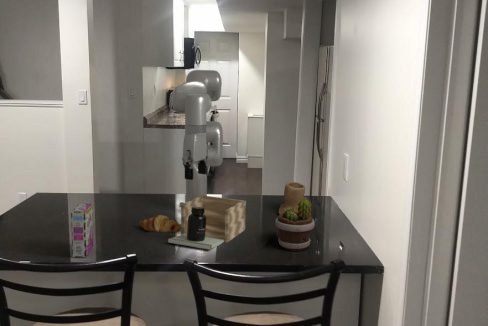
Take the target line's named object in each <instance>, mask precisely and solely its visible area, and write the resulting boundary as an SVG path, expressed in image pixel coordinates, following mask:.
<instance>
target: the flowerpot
mask: <svg viewBox="0 0 488 326" xmlns="http://www.w3.org/2000/svg"><path fill="white" fill-rule="evenodd" d="M302 197H303V196H302ZM297 205H298V206H297V207H298V208H297V209H298V210H296V211H299V212H295V211H294V208H293V209H292V208H291V209H289V208H288V209H286V211H285V213H281V214H279V215H278V216H277V217H276V219H275V220H274V221H275V224H274V225H275V227H276V228H277V232H278V238H277V239H278V241H277V242H278V243H279V245H280V248H283V249H285V250H286V251H291V252H292V251H293V252H301V251H304V250H306V249H307V248H308V247H309V246H310V244H311V238H310V236H311V233H312V230H313V229H315V225H316V224H315V219H314V218H313V217H312V213H311V212H312V211H313V210H312V209H313V207H312V206H313V203H312V201H311V200H310V199H309V198H308V197H307V196H304V197H303V199H301V201H300V200H299V203H298V204H297ZM295 209H296V208H295Z"/></svg>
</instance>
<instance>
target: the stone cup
mask: <svg viewBox="0 0 488 326" xmlns="http://www.w3.org/2000/svg"><path fill="white" fill-rule="evenodd" d="M305 193H306V186H305V185H304V184H302V183H300V182H297V181H289V182H287V183H286V184H285V185H284V191H283V198H284V203H281V204H280V206H279V209H278V214H279V215H280V214H281V213H285V211H286V209H288V208H289V209H291V208H292V209H293V208H294V211H295V212H299V211H296V210H298V209H297V208H298V207H297V206H298V205H297V204H298V203H299V200H300V201H301V199H303V197H304V198H305V195H306V194H305ZM302 196H303V197H302ZM295 208H296V209H295Z"/></svg>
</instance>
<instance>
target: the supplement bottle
mask: <svg viewBox="0 0 488 326" xmlns="http://www.w3.org/2000/svg"><path fill="white" fill-rule="evenodd" d="M204 209H205V208H203V207H192V209H191V212H192V214H190V215H189V216H188V226H187V239H188V240H190V241H204V240H205V232H206V216H205V215H204Z"/></svg>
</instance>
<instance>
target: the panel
mask: <svg viewBox="0 0 488 326" xmlns="http://www.w3.org/2000/svg"><path fill="white" fill-rule="evenodd" d="M167 240H168V241H167V243H169V244H170V243H171V244H174V245H181V246H188V247H192V248H199V249H203V250H204V249H205V250H212V249H214V248H216V247H218V246H220V245H221V244H223V243H224V242H225V241H224V240H221V239H215V238H209V237H205V240H204V241H190V240H188V239H187V234H182V235H181V234H179V235H177V236H174V237H170V238H168V239H167Z"/></svg>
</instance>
